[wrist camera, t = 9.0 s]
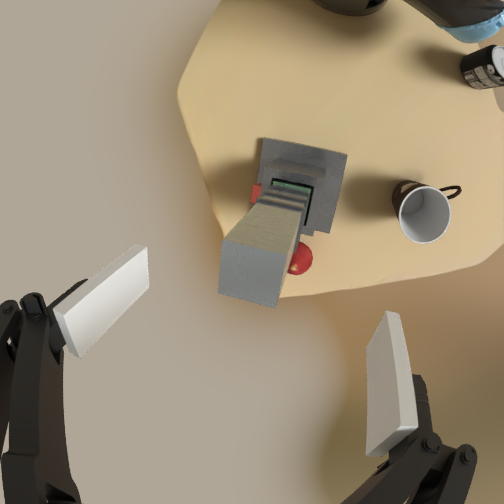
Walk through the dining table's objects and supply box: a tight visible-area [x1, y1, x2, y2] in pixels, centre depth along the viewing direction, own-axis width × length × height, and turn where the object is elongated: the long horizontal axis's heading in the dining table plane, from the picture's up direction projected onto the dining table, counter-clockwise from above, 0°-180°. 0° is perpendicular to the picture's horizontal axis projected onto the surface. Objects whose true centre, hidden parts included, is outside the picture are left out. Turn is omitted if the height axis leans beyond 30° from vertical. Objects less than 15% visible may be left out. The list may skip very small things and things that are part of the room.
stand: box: [250, 138, 347, 236], centre depth 42 cm, size 14×14×12 cm
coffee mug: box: [392, 180, 462, 244], centre depth 38 cm, size 12×9×10 cm
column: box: [218, 179, 311, 308], centre depth 29 cm, size 5×5×22 cm
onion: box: [287, 242, 313, 275], centre depth 49 cm, size 6×6×8 cm
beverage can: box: [461, 45, 504, 89], centre depth 23 cm, size 7×7×12 cm
